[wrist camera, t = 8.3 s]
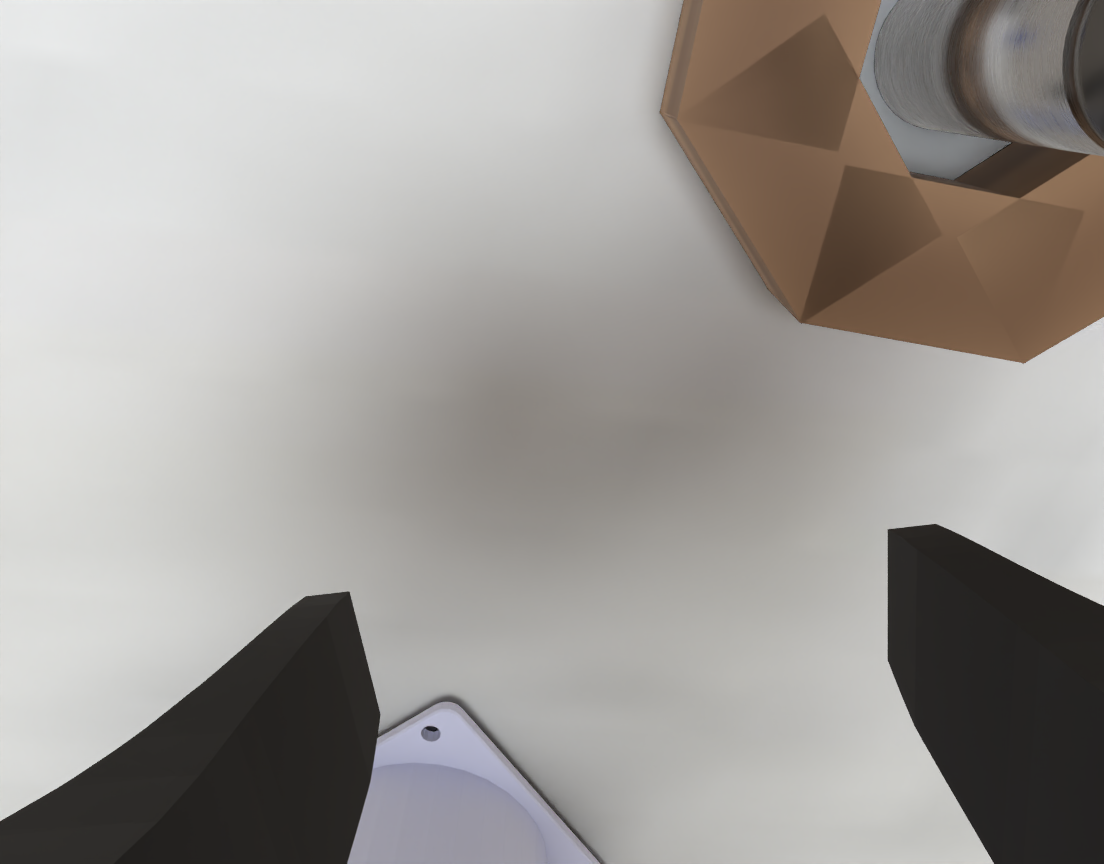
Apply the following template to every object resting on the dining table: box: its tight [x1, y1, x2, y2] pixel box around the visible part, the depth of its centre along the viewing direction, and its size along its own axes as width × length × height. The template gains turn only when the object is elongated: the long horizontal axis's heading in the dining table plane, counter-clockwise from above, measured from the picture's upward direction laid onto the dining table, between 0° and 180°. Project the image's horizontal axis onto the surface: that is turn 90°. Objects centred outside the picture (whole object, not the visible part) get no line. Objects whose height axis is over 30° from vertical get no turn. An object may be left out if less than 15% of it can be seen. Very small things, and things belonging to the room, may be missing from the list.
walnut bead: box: [659, 0, 1104, 363], centre depth 17 cm, size 11×11×3 cm
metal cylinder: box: [874, 0, 1104, 156], centre depth 15 cm, size 3×3×8 cm
